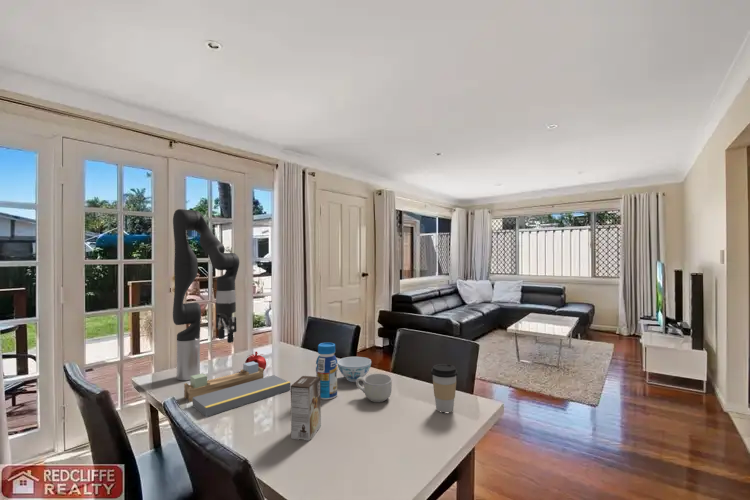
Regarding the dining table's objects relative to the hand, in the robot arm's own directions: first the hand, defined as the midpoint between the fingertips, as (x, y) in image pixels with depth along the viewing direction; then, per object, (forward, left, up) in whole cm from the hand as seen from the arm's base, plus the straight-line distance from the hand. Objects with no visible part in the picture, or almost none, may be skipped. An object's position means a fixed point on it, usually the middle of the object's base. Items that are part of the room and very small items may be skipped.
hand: (226, 340), depth 147 cm
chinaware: (+30, +44, -20) cm, 57 cm away
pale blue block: (0, +11, -15) cm, 19 cm away
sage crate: (0, -11, -15) cm, 19 cm away
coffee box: (+54, +2, -20) cm, 58 cm away
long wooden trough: (0, 0, -20) cm, 20 cm away
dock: (+14, +1, -20) cm, 24 cm away
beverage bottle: (+36, +24, -20) cm, 48 cm away
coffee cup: (+76, +45, -20) cm, 91 cm away
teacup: (+51, +35, -20) cm, 65 cm away
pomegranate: (-12, +19, -20) cm, 30 cm away
